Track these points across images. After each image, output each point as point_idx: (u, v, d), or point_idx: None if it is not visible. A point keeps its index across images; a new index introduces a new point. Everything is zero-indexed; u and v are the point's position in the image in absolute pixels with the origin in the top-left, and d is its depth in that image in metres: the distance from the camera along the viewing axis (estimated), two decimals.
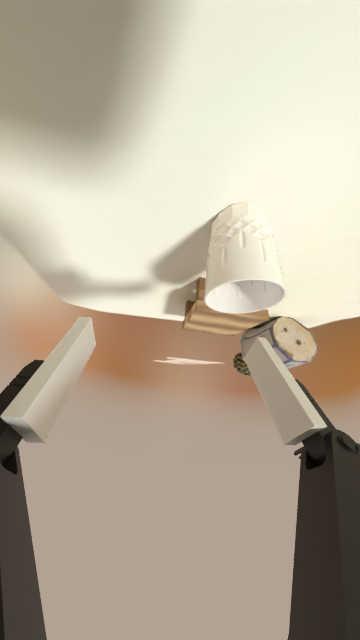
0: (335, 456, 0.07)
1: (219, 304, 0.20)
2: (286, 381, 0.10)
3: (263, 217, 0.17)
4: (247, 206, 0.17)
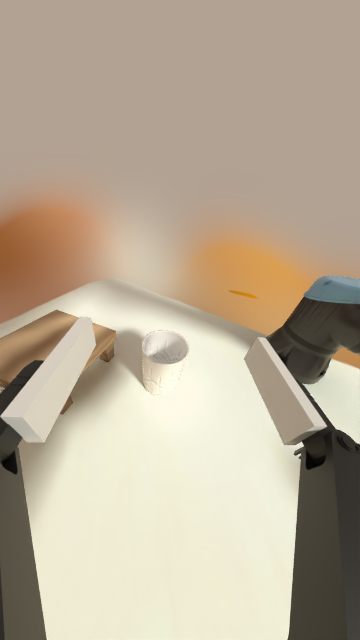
0: (335, 456, 0.07)
1: (149, 338, 0.28)
2: (286, 381, 0.10)
3: (174, 384, 0.30)
4: None
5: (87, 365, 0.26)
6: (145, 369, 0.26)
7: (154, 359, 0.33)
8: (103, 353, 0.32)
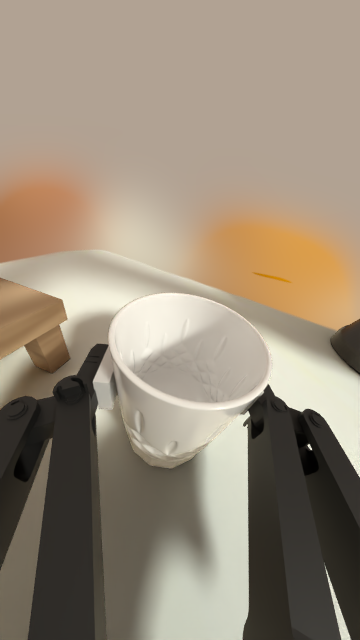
0: (270, 421, 0.08)
1: (140, 312, 0.10)
2: None
3: None
4: None
5: None
6: (124, 408, 0.08)
7: (154, 368, 0.14)
8: (36, 353, 0.14)
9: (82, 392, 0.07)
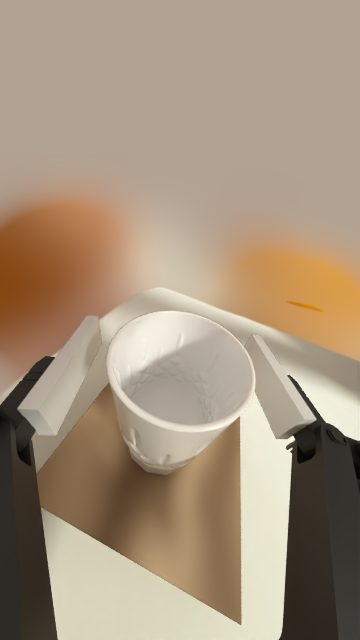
0: (324, 449, 0.07)
1: (136, 330, 0.11)
2: (278, 376, 0.10)
3: None
4: None
5: None
6: (121, 423, 0.08)
7: (151, 379, 0.15)
8: None
9: None
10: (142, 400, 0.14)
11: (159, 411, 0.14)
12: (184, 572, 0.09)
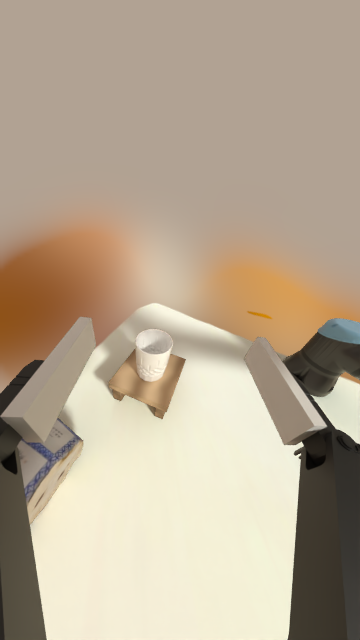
0: (335, 456, 0.07)
1: (142, 335, 0.36)
2: (286, 381, 0.10)
3: (162, 373, 0.37)
4: None
5: (175, 386, 0.39)
6: (138, 359, 0.33)
7: (146, 352, 0.40)
8: None
9: None
10: None
11: None
12: (154, 399, 0.34)
